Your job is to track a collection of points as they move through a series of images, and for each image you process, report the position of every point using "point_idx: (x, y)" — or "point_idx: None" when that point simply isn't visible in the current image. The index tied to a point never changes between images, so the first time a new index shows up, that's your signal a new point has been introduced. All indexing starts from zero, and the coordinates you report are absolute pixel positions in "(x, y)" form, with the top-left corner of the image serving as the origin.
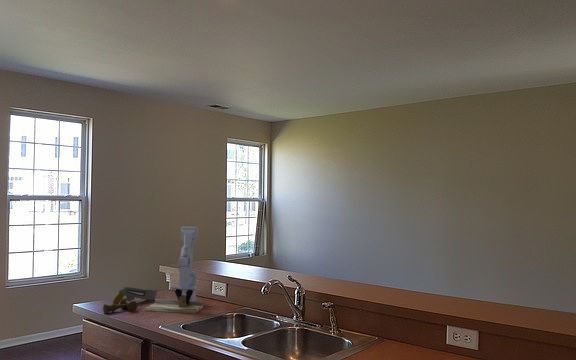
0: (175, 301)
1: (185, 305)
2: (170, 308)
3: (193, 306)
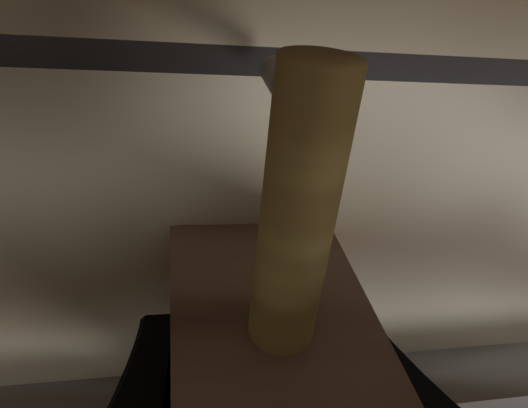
0: (446, 392)
1: (172, 250)
2: (479, 41)
3: (34, 317)
